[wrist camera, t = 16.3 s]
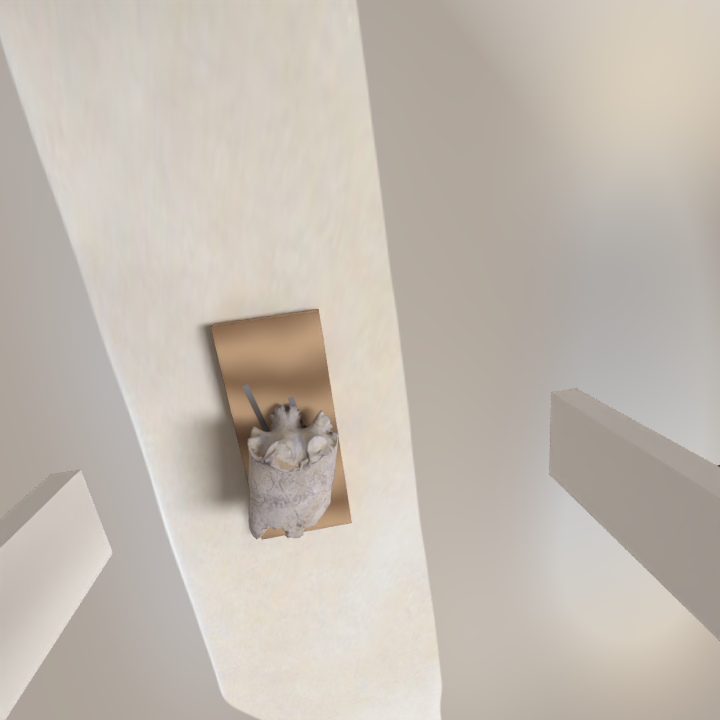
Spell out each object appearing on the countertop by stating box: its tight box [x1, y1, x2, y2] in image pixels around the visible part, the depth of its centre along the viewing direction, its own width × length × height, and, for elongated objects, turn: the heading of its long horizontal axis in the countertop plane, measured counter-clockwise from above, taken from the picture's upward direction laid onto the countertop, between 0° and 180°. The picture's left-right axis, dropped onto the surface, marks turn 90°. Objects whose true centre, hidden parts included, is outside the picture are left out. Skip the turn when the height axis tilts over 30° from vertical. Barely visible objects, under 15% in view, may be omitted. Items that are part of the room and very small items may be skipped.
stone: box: [247, 405, 338, 539], centre depth 38 cm, size 8×12×7 cm, turn 175°
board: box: [211, 309, 352, 539], centre depth 41 cm, size 24×10×2 cm, turn 7°
